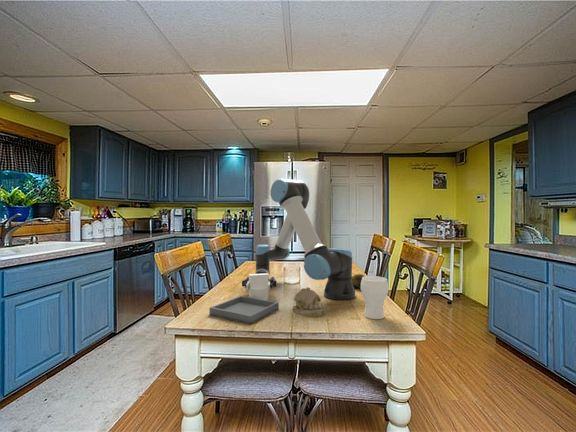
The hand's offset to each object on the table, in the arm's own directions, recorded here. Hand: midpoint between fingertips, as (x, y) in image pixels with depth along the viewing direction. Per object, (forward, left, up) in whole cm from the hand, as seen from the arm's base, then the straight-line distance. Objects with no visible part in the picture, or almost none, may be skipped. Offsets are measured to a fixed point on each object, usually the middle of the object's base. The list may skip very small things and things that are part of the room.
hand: (257, 287), depth 142 cm
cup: (-50, -9, -7) cm, 51 cm away
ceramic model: (-25, -1, -7) cm, 26 cm away
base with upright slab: (+2, -4, -7) cm, 8 cm away
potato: (-31, -50, -7) cm, 59 cm away
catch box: (-3, +13, -7) cm, 15 cm away
